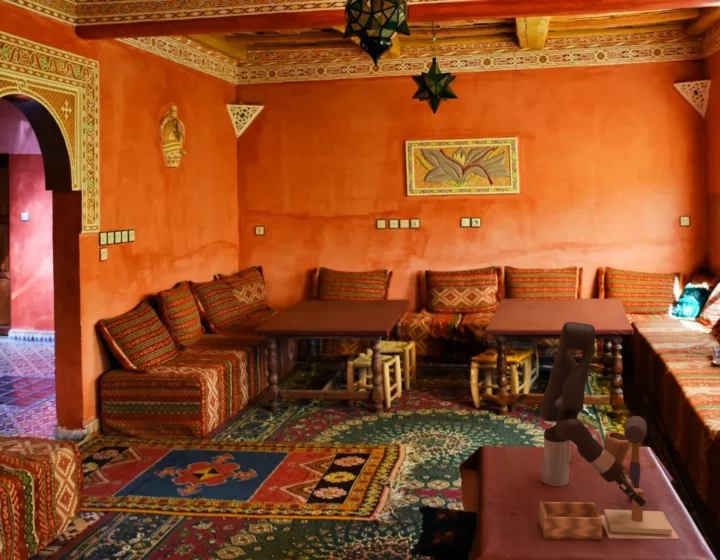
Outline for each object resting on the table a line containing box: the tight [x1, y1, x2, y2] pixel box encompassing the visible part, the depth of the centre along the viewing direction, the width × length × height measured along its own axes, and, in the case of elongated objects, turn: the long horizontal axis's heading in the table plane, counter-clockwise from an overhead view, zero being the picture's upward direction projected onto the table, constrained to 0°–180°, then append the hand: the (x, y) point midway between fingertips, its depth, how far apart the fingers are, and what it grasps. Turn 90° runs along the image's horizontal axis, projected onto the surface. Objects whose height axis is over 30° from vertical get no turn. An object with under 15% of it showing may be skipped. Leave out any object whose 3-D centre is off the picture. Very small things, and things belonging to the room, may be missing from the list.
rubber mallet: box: [623, 415, 648, 502], centre depth 291 cm, size 12×8×30 cm, turn 158°
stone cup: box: [603, 431, 631, 474], centre depth 322 cm, size 15×12×15 cm
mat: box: [600, 514, 680, 540], centre depth 271 cm, size 22×17×1 cm
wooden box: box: [538, 501, 603, 541], centre depth 270 cm, size 18×13×7 cm
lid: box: [603, 487, 672, 534], centre depth 270 cm, size 19×14×12 cm
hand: (641, 499), depth 270 cm, fingers open, 8 cm apart
